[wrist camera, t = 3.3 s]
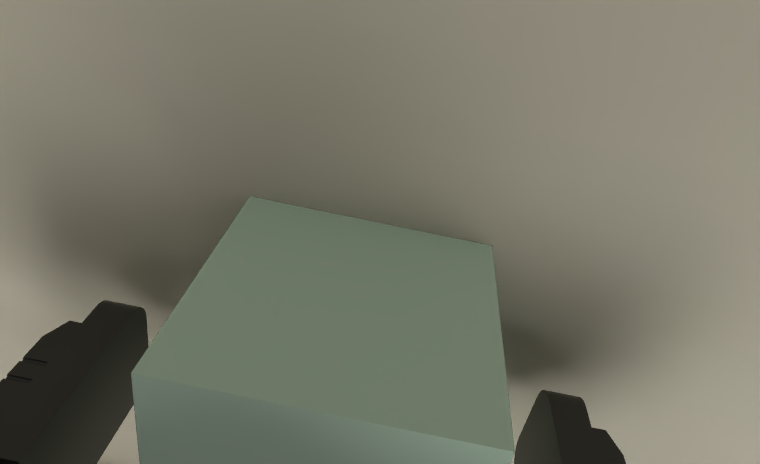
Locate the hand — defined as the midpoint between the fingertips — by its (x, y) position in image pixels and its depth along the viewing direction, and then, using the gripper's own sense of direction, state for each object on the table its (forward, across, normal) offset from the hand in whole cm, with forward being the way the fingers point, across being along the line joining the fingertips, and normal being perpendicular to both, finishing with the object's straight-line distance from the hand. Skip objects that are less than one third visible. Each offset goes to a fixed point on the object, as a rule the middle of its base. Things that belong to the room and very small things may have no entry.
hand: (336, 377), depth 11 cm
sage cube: (+2, 0, 0) cm, 2 cm away
